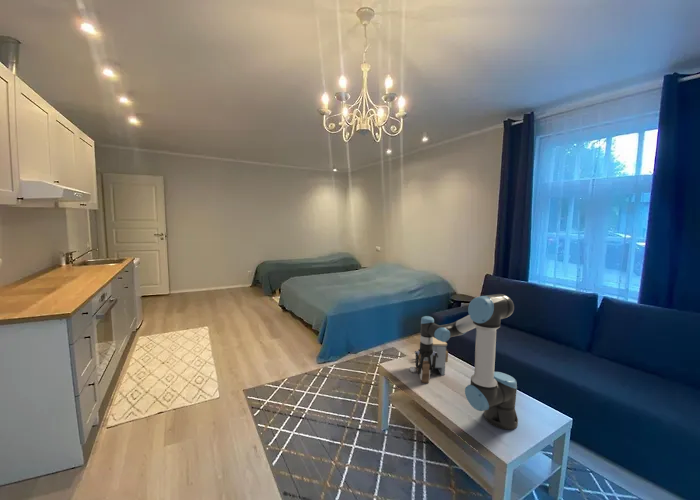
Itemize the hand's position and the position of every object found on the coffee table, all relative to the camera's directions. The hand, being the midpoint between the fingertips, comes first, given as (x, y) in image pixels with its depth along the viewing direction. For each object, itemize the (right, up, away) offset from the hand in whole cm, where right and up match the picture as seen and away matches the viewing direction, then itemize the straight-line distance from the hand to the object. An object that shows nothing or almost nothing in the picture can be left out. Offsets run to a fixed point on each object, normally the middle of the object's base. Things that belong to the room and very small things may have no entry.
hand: (424, 378), depth 181 cm
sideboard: (+8, -1, +14) cm, 16 cm away
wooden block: (0, -1, +7) cm, 7 cm away
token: (-4, -1, +13) cm, 13 cm away
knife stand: (+13, +1, +28) cm, 31 cm away
